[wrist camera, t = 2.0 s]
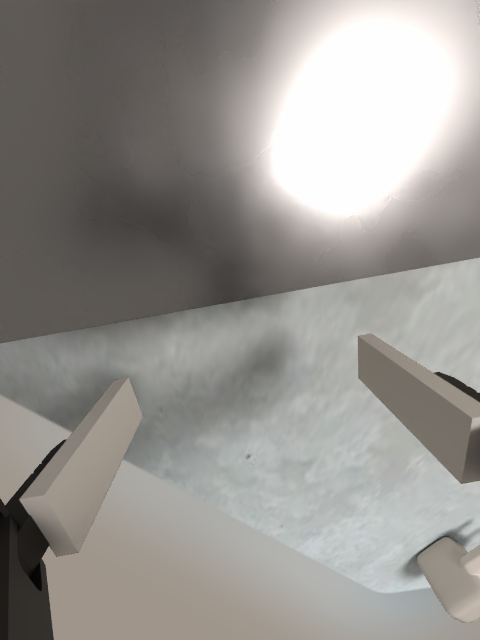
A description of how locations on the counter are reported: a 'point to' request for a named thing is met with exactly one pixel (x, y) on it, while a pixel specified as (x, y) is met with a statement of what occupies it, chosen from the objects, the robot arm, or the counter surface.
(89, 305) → the box
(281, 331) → the counter surface
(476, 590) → the power adapter
